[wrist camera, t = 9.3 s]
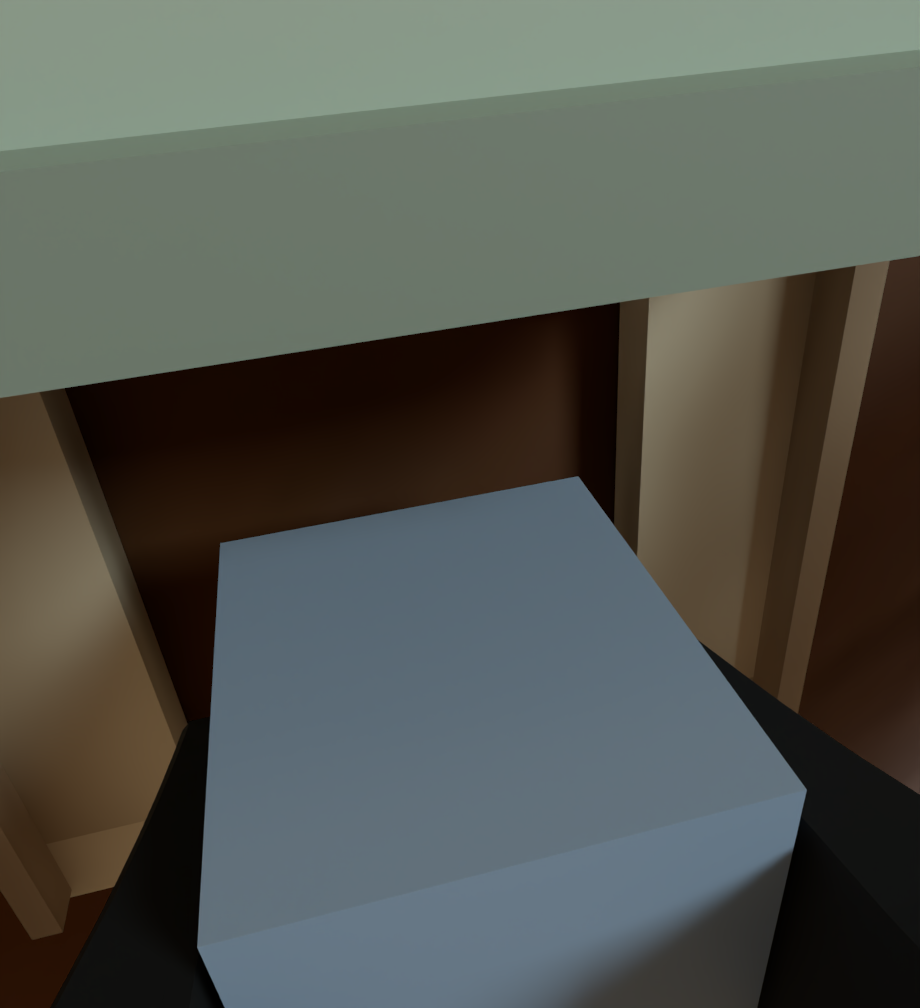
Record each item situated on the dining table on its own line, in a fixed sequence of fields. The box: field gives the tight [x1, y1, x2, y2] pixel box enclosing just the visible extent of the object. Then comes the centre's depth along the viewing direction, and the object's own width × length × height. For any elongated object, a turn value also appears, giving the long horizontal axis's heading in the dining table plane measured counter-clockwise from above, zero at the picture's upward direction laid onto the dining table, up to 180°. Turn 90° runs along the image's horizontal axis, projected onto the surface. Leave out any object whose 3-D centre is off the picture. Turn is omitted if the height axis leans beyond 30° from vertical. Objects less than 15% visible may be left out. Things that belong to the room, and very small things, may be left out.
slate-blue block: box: [197, 476, 807, 1008], centre depth 9 cm, size 4×4×5 cm
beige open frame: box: [0, 260, 890, 940], centre depth 10 cm, size 15×21×2 cm
